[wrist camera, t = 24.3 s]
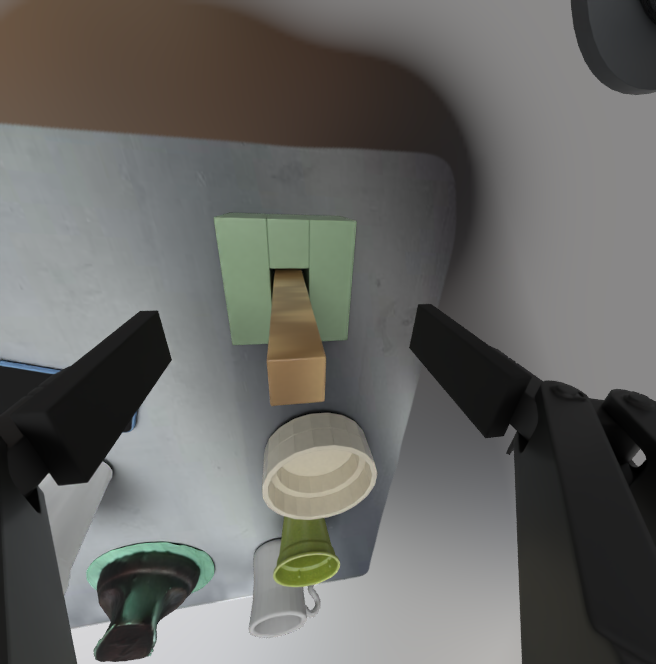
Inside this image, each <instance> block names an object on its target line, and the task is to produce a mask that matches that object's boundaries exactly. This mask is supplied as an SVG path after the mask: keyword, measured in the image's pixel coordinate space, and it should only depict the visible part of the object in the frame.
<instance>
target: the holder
mask: <svg viewBox="0 0 656 664" xmlns="http://www.w3.org/2000/svg"><path fill="white" fill-rule="evenodd" d="M356 223H357V222H356V221H354V220H351V219H348V218H344V217H341V216H320V215H287V214H270V215H269V214H254V213H227V214H223V215H220V216H216V217H214V224H215V231H216V237H217V244H218V251H219V258H220V264H221V271H222V278H223V284H224V291H225V298H226V305H227V311H228V318H229V325H230V332H231V338H232V344H233V345H250V344H268V341H269V330H270V318H271V307H272V296H273V284H274V281H273V269H301V268H303V275H304V281H305V284H306V288H307V291H308V295H309V299H310V302H311V306H312V309H313V313H314V316H315V320H316V323H317V327H318V330H319V334H320V337H321V341H338V340H347V337H348V324H349V311H350V299H351V286H352V273H353V261H354V248H355V235H356Z"/></svg>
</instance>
